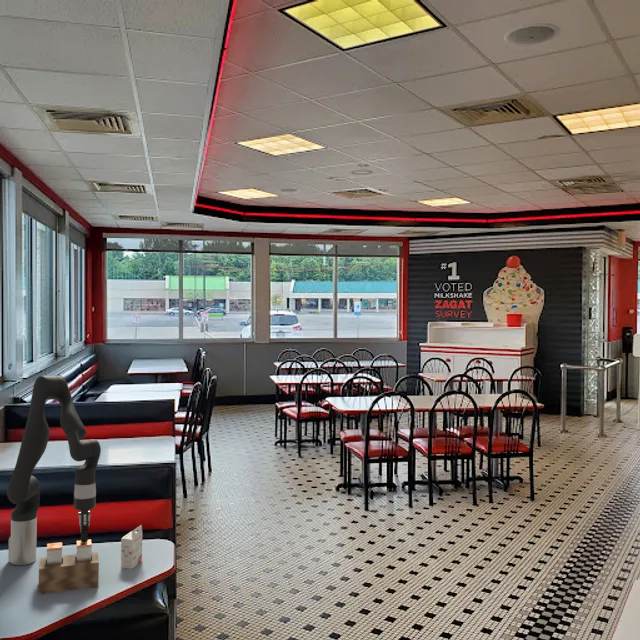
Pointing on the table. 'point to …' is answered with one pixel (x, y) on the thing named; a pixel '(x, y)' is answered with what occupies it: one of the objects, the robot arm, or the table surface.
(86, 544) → the peg far
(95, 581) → the walnut block
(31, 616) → the table surface
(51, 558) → the peg near
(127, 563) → the ink cartridge box
